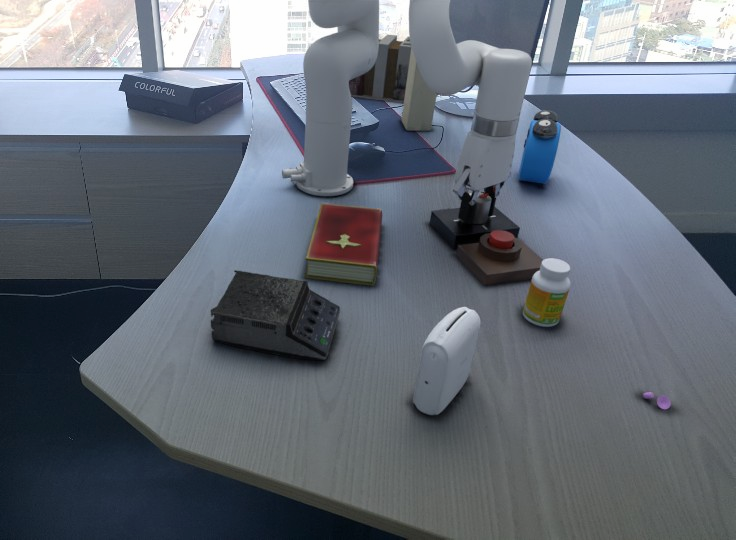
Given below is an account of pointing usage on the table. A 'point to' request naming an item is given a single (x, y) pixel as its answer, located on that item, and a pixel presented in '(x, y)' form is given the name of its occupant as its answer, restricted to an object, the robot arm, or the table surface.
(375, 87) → the bookend
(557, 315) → the supplement bottle
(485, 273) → the button block
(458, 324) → the photo printer
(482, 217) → the timer knob
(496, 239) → the button
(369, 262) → the hardcover book
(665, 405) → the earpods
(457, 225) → the control panel
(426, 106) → the toy refrigerator
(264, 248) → the table surface
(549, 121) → the alarm clock
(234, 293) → the electronic device
